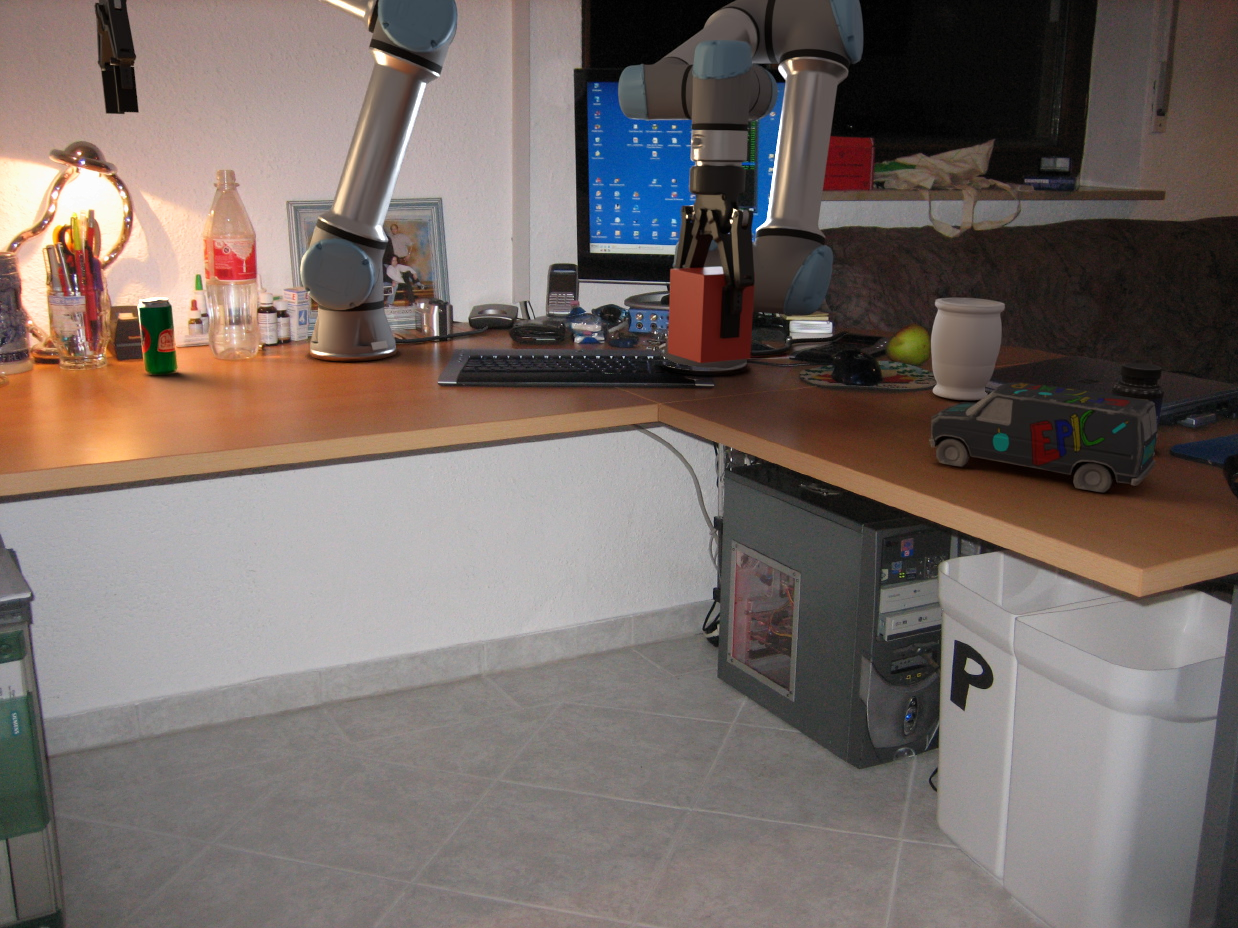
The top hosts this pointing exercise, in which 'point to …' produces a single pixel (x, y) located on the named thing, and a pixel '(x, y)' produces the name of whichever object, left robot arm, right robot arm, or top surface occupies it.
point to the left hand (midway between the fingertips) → (121, 113)
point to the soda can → (157, 336)
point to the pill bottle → (1141, 384)
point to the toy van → (1052, 433)
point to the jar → (965, 346)
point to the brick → (705, 317)
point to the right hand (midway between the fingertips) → (710, 332)
